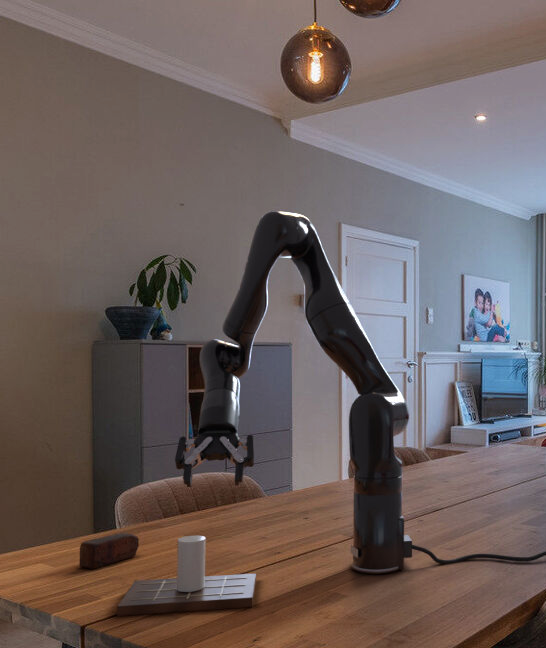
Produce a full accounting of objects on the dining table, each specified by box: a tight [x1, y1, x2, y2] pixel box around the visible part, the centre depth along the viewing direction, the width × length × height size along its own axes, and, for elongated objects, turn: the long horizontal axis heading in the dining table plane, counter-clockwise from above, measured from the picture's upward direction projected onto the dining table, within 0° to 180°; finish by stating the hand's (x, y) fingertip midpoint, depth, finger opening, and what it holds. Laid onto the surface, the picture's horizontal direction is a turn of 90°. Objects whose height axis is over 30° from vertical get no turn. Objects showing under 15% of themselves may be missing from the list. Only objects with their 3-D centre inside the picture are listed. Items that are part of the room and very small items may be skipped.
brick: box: [78, 532, 140, 570], centre depth 140 cm, size 11×4×5 cm, turn 157°
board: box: [116, 573, 257, 617], centre depth 119 cm, size 20×13×2 cm, turn 102°
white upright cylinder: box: [176, 535, 207, 592], centre depth 120 cm, size 4×4×8 cm
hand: (213, 483), depth 134 cm, fingers open, 8 cm apart
